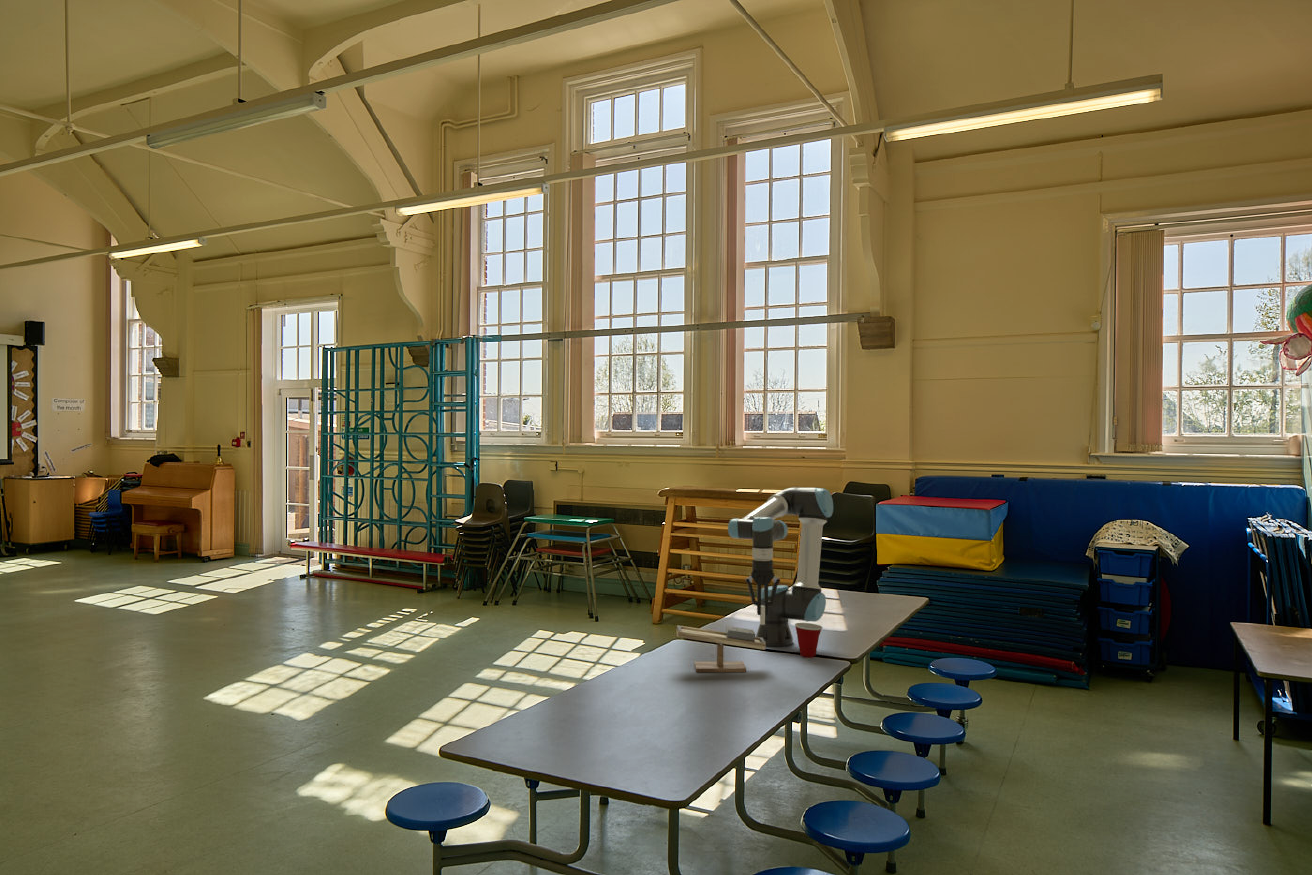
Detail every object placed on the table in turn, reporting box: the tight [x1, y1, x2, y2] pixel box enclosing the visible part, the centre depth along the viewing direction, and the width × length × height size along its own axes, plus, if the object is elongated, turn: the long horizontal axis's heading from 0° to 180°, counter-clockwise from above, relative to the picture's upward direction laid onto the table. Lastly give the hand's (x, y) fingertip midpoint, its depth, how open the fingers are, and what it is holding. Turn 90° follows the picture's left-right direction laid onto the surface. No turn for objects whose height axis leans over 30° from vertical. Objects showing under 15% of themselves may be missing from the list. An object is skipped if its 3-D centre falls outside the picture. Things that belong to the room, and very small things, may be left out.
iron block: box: [725, 625, 756, 642], centre depth 322 cm, size 7×10×4 cm
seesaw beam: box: [675, 624, 767, 651], centre depth 321 cm, size 10×32×3 cm, turn 91°
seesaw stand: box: [694, 643, 747, 673], centre depth 321 cm, size 10×18×9 cm, turn 91°
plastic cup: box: [794, 622, 824, 658], centre depth 340 cm, size 11×11×12 cm
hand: (762, 623), depth 321 cm, fingers closed
